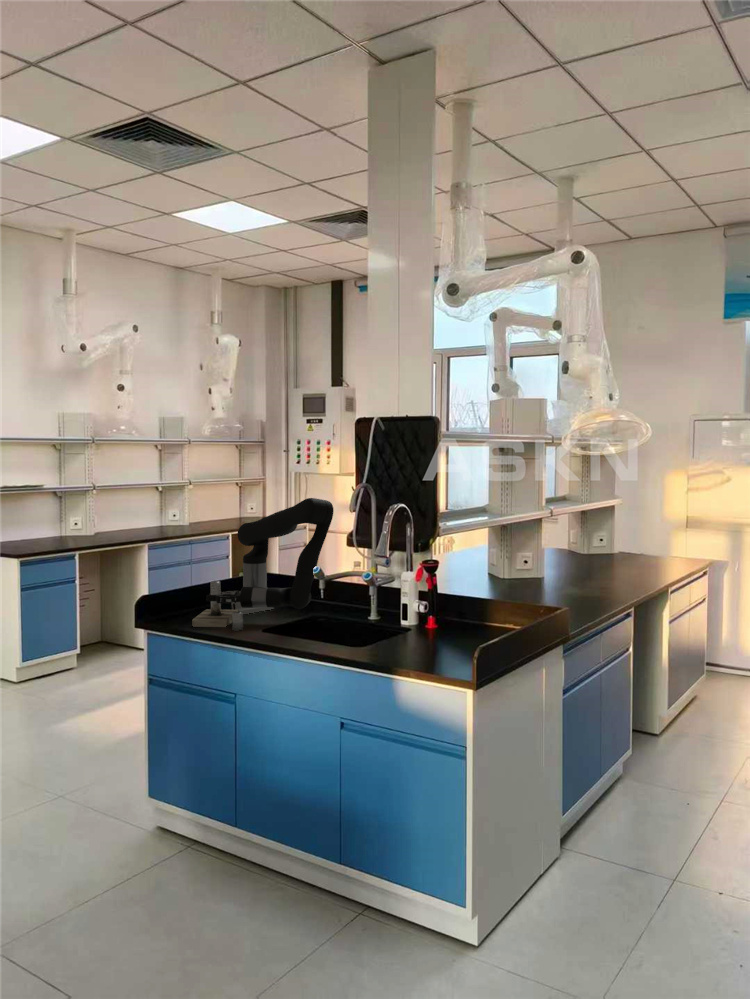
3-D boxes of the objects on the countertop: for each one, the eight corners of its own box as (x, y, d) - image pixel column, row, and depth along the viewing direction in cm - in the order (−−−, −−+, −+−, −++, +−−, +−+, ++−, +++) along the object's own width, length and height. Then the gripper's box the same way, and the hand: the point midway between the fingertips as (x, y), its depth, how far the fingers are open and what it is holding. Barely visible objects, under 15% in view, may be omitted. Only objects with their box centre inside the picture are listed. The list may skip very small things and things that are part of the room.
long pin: (212, 616, 286) (211, 581, 285) (222, 616, 285) (221, 581, 285) (209, 618, 282) (209, 582, 281) (219, 618, 282) (219, 582, 281)
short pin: (233, 628, 272) (233, 611, 272) (244, 628, 272) (243, 611, 272) (231, 631, 269) (231, 613, 268) (241, 631, 268) (241, 613, 268)
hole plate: (206, 615, 293) (206, 609, 293) (238, 616, 292) (238, 609, 292) (192, 626, 275) (192, 619, 275) (226, 627, 275) (226, 620, 274)
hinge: (239, 615, 293) (234, 589, 295) (232, 618, 297) (227, 592, 298) (275, 609, 305) (269, 584, 307) (267, 611, 309) (262, 587, 310)
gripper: (258, 583, 289) (212, 583, 290) (250, 590, 275) (202, 590, 276) (259, 603, 290) (213, 603, 291) (250, 611, 276) (202, 611, 277)
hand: (208, 597), depth 283 cm, fingers closed on long pin, 3 cm apart
